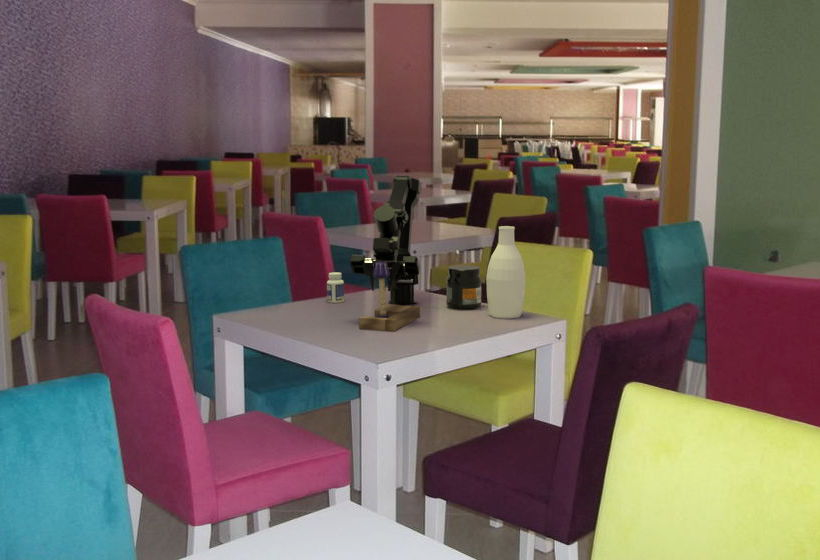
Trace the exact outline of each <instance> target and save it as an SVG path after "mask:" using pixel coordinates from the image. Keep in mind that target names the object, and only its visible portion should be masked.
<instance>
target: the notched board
mask: <svg viewBox="0 0 820 560" xmlns="http://www.w3.org/2000/svg"><path fill="white" fill-rule="evenodd" d="M385 305H386V315H387V316H389V318H377V317H378V316H380V307H379V308H376V309H375V310H374V317H373V316H360V317H358V329H359V330H368V331H382V332H396V331H397V330H399V329H401V328H403V327H404V326H406V325H409V324H410V323H412V322H413V321H415V320H417V319H418V318H420V317H421V306H419V305H418V306H417V305H395V304H390V303H386V304H385Z"/></svg>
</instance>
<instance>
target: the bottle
mask: <svg viewBox="0 0 820 560" xmlns="http://www.w3.org/2000/svg"><path fill="white" fill-rule="evenodd" d="M498 230H499V231H498V244H497V246H496V248H495V250H494V251H493V253H492V254H491V257H490V260H489V262H488V266H487V271H486V277H485V278H486V298H487V306H488V313H489V315H490V317H492V318H495V319H516V318H520V317H521V315H522V314H523V307H524V302H525V301H524V300H525V294H526V293H525V292H526V280H527V279H526V268H525V265H524V262H523V258H522V255H521V253H520V252H519V250H518V248H517V246H516V244H515V230H516V228H515V226H513V225H512V226H509V225H504V226H503V225H501V226H498Z"/></svg>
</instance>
